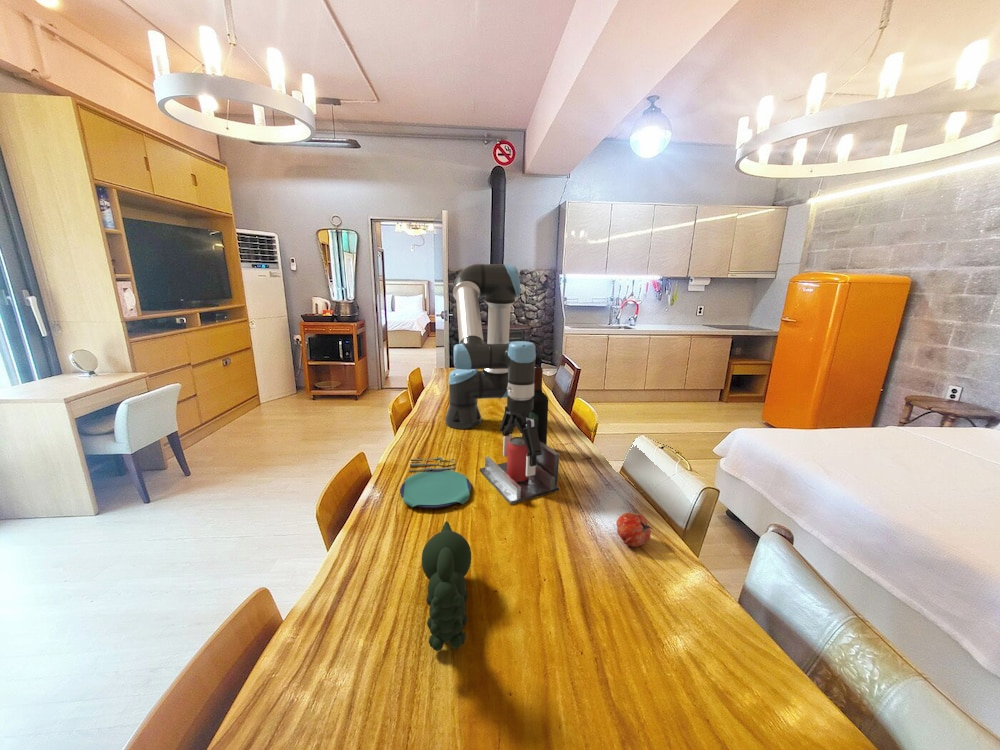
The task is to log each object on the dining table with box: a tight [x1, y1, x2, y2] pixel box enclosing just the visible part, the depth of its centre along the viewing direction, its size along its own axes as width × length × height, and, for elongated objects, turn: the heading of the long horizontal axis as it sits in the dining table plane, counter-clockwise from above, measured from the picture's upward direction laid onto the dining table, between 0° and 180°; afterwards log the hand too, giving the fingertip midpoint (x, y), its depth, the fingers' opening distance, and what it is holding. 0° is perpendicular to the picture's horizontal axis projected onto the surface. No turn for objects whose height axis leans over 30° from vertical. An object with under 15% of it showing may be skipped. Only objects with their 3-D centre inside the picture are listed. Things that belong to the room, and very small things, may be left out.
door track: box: [479, 435, 560, 506], centre depth 110 cm, size 20×16×11 cm
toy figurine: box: [421, 520, 472, 652], centre depth 66 cm, size 9×19×25 cm
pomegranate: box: [615, 511, 653, 548], centre depth 85 cm, size 7×7×10 cm
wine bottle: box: [525, 367, 549, 446], centre depth 128 cm, size 8×8×30 cm
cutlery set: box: [399, 457, 472, 509], centre depth 110 cm, size 20×30×2 cm, turn 11°
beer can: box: [506, 436, 529, 482], centre depth 110 cm, size 7×7×12 cm
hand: (518, 464), depth 110 cm, fingers open, 13 cm apart
